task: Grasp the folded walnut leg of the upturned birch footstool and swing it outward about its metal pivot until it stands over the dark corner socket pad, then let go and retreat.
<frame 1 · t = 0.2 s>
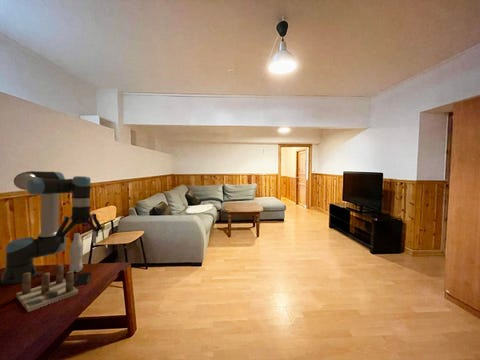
hand: (79, 246, 116), 27 cm above the table, fingers open, 13 cm apart
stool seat: (48, 295, 116), on the table
hinged leg: (49, 284, 114), point 7 cm above the table, hinge at -80.0°
phone: (82, 280, 135), on the table
water bottle: (75, 271, 145), on the table
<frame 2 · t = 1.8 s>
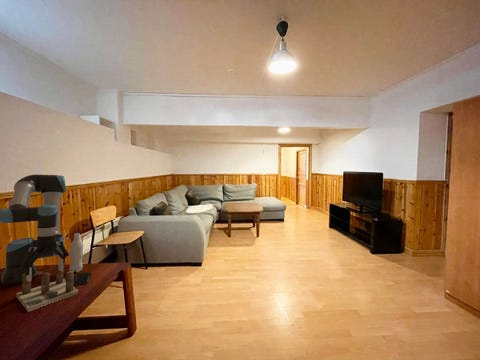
hand: (45, 275, 115), 11 cm above the table, fingers open, 13 cm apart
nothing on the table moved.
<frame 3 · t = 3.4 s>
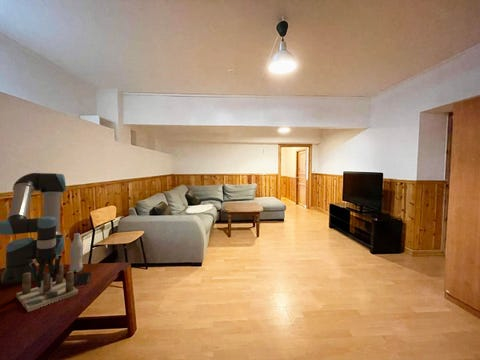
hand: (45, 290, 115), 3 cm above the table, fingers closed on hinged leg, 3 cm apart
hinged leg: (49, 284, 114), point 7 cm above the table, hinge at -80.0°, touching gripper
everything else where it was.
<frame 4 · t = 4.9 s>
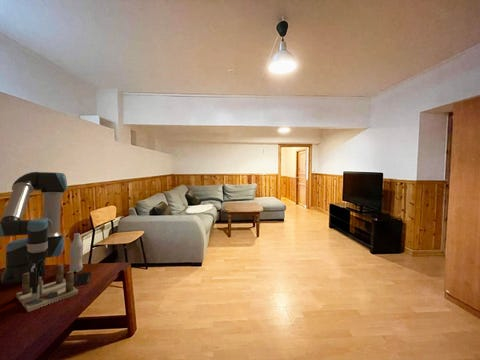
hand: (37, 295, 111), 3 cm above the table, fingers open, 4 cm apart
hinged leg: (45, 286, 112), point 7 cm above the table, hinge at -43.3°, touching gripper
everything else where it was.
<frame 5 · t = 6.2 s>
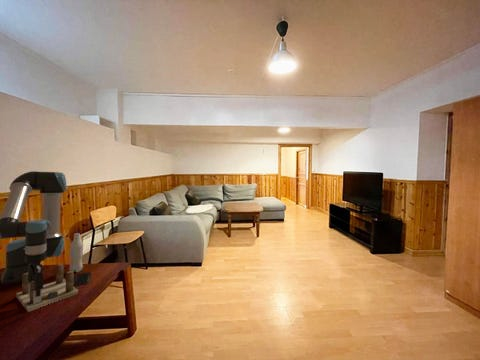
hand: (34, 298, 107), 4 cm above the table, fingers open, 8 cm apart
hinged leg: (44, 288, 110), point 7 cm above the table, hinge at -9.4°
everything else where it was.
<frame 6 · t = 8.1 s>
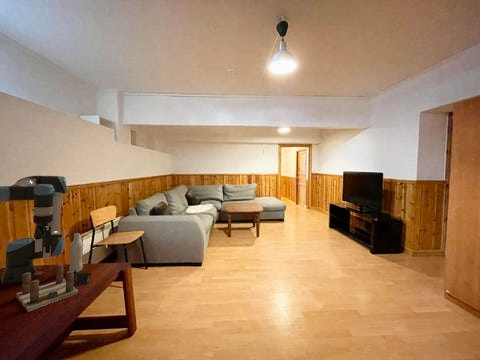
hand: (42, 255, 114), 22 cm above the table, fingers open, 13 cm apart
nothing on the table moved.
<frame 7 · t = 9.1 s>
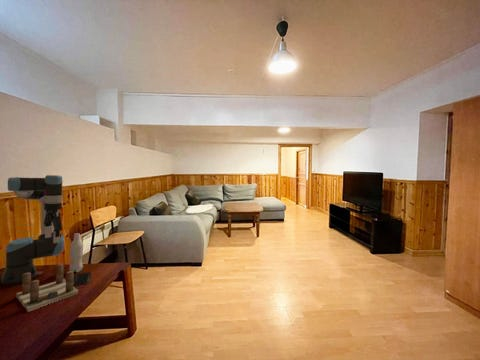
hand: (52, 240, 125), 27 cm above the table, fingers open, 13 cm apart
nothing on the table moved.
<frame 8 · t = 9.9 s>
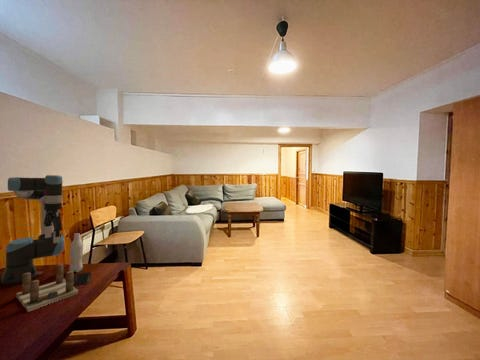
hand: (52, 240, 125), 27 cm above the table, fingers open, 13 cm apart
nothing on the table moved.
at the end: hinged leg at -9° (first picture: -80°); the gripper is holding nothing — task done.
